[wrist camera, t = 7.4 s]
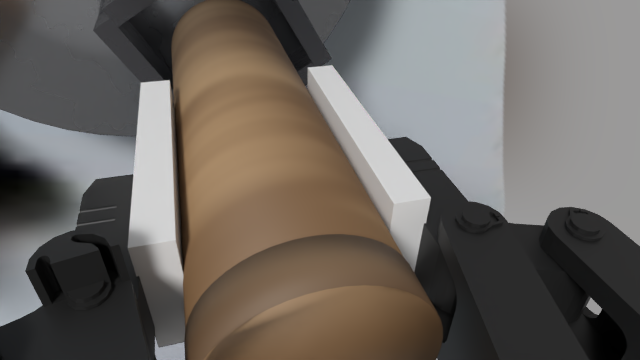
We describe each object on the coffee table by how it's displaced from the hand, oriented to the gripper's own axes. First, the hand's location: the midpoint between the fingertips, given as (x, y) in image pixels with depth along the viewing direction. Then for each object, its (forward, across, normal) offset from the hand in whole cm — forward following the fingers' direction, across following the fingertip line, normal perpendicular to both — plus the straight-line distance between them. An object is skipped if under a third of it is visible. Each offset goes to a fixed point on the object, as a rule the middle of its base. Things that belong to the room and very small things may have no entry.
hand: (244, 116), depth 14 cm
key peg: (+5, 0, 0) cm, 5 cm away
